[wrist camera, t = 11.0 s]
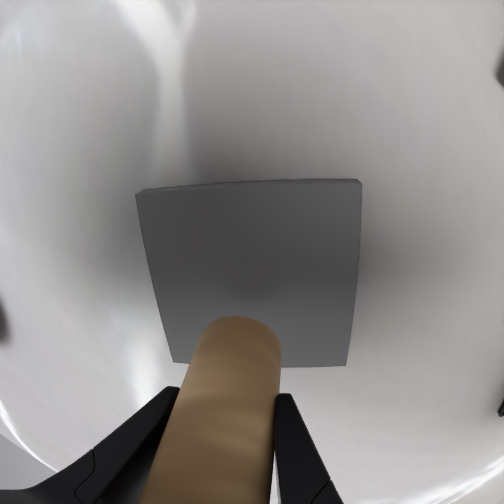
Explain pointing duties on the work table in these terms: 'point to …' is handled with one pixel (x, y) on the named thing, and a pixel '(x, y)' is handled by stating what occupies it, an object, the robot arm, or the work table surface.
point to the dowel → (221, 421)
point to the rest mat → (257, 262)
